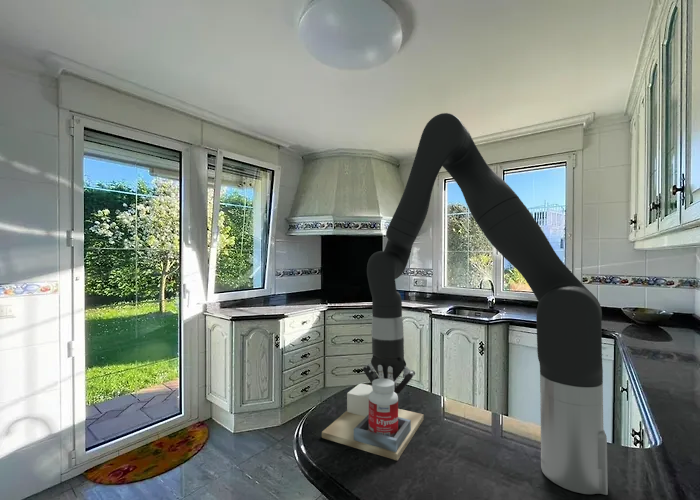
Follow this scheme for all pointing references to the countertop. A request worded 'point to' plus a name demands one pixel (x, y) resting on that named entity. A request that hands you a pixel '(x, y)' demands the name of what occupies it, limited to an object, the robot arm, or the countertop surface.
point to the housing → (359, 400)
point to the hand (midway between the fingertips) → (389, 408)
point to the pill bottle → (383, 408)
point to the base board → (357, 433)
